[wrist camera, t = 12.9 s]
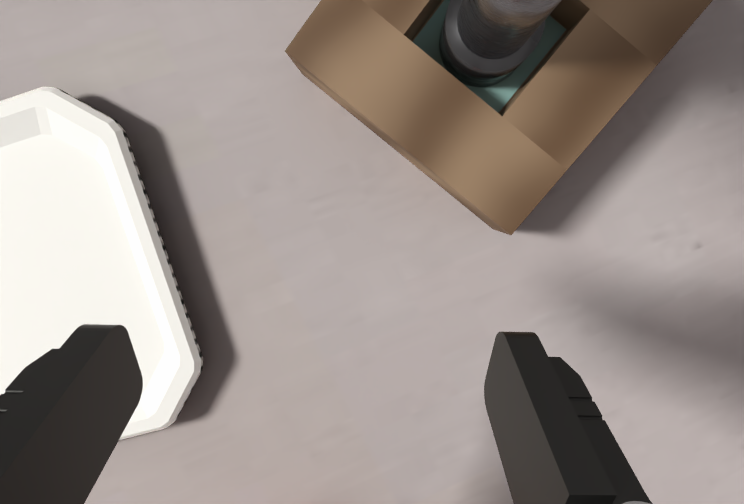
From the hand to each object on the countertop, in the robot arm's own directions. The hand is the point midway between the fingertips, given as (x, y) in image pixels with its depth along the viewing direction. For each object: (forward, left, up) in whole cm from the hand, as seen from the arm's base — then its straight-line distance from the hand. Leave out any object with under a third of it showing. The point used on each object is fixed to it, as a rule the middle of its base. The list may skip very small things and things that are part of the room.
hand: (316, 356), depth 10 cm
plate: (-15, -15, -17) cm, 27 cm away
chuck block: (-2, +13, -16) cm, 21 cm away
